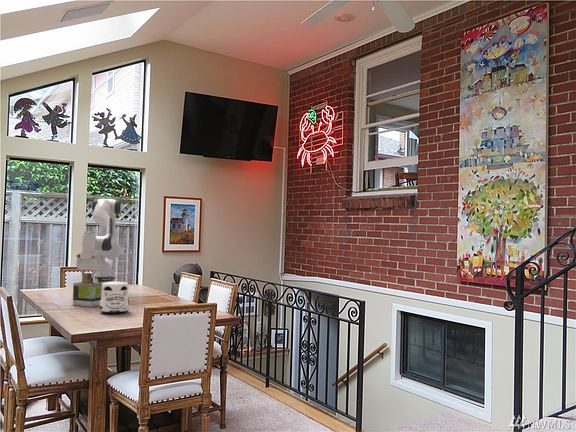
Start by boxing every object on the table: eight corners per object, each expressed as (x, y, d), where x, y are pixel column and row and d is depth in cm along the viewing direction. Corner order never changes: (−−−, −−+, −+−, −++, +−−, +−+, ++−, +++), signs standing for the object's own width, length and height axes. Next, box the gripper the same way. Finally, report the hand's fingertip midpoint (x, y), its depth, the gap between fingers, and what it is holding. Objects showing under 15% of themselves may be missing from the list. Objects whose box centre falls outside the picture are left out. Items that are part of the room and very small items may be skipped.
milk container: (111, 316, 290) (113, 285, 290) (93, 312, 300) (94, 283, 300) (135, 312, 305) (136, 283, 305) (116, 308, 314) (117, 280, 314)
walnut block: (88, 281, 327) (88, 272, 327) (93, 282, 325) (93, 273, 325) (81, 282, 323) (82, 273, 323) (86, 283, 320) (87, 274, 320)
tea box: (101, 304, 326) (102, 282, 326) (90, 307, 316) (91, 284, 316) (83, 303, 331) (84, 281, 331) (72, 305, 321) (72, 282, 321)
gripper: (103, 256, 321) (102, 277, 321) (83, 254, 332) (82, 275, 332) (94, 257, 316) (94, 278, 316) (74, 254, 326) (74, 275, 326)
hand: (87, 276), depth 324 cm, fingers open, 8 cm apart
